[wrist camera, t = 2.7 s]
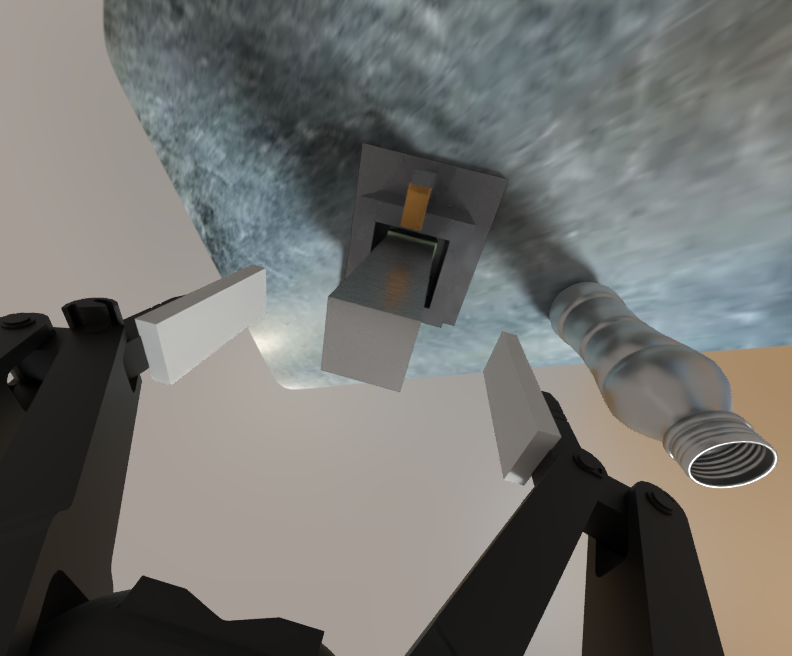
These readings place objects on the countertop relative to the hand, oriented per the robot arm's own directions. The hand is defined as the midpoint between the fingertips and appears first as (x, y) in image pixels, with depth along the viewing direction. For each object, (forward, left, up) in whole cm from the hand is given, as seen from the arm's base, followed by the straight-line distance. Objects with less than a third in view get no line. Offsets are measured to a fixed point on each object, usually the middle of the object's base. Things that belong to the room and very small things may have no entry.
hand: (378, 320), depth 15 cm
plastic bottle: (+2, +19, -18) cm, 27 cm away
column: (0, 0, -17) cm, 17 cm away
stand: (0, 0, -18) cm, 18 cm away
